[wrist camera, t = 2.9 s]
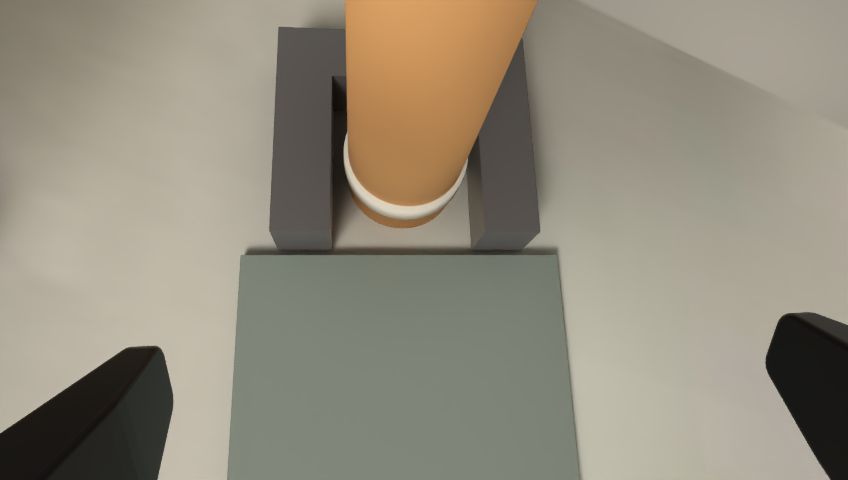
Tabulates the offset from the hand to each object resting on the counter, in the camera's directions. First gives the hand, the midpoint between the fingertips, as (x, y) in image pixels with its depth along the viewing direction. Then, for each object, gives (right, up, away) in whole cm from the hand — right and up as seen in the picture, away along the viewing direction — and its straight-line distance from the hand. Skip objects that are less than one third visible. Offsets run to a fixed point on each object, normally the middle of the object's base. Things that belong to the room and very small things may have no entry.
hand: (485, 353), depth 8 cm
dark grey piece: (-2, +5, +15) cm, 16 cm away
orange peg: (-2, +4, +15) cm, 16 cm away
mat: (-1, -6, +12) cm, 13 cm away
